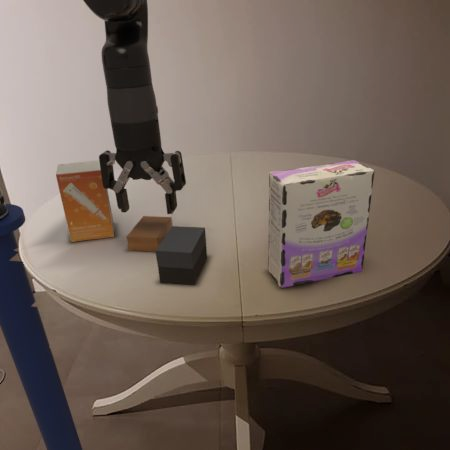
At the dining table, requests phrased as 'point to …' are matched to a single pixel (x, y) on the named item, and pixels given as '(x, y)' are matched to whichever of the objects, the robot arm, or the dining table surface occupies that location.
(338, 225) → the candy box
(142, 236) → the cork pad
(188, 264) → the grey pad
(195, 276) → the black pad
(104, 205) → the small box
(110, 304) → the dining table surface
